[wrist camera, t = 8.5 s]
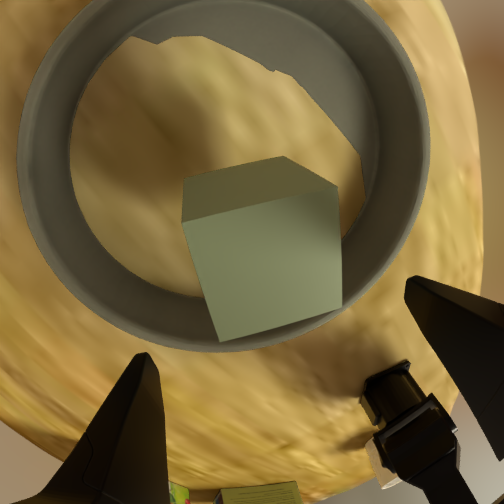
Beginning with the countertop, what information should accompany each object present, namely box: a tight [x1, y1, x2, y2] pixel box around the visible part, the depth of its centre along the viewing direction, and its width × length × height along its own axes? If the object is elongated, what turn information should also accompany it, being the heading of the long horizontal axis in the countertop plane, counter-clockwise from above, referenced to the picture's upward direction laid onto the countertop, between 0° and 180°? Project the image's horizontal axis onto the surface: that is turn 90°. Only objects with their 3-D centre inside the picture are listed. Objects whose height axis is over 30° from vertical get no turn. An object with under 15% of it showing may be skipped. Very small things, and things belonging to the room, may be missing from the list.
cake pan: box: [16, 0, 430, 353], centre depth 16 cm, size 25×25×4 cm
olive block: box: [181, 156, 342, 342], centre depth 13 cm, size 5×5×6 cm
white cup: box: [365, 437, 403, 489], centre depth 40 cm, size 8×8×10 cm
